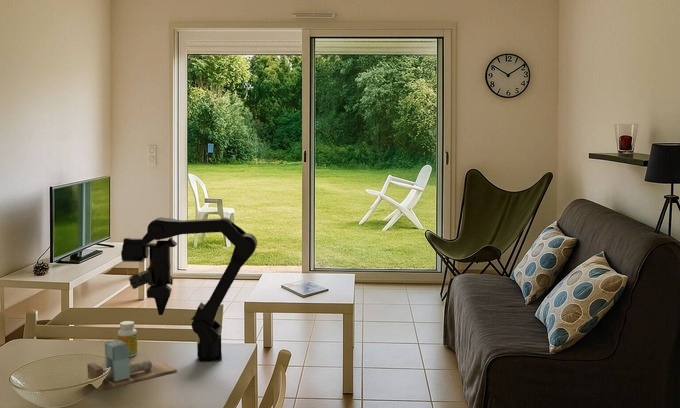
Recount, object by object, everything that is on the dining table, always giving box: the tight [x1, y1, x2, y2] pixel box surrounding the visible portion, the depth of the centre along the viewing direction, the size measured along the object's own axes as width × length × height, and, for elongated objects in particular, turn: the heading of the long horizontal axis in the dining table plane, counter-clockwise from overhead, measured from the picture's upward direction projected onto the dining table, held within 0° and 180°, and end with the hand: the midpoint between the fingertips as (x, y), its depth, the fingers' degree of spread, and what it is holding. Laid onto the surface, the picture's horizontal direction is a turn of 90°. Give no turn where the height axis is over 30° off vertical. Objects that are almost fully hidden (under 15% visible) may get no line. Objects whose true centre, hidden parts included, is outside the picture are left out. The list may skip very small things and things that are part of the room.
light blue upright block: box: [104, 339, 130, 381], centre depth 181 cm, size 4×6×9 cm, turn 41°
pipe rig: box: [86, 359, 178, 391], centre depth 184 cm, size 22×8×5 cm, turn 131°
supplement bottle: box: [117, 320, 138, 358], centre depth 201 cm, size 5×5×10 cm
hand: (160, 314), depth 198 cm, fingers closed
